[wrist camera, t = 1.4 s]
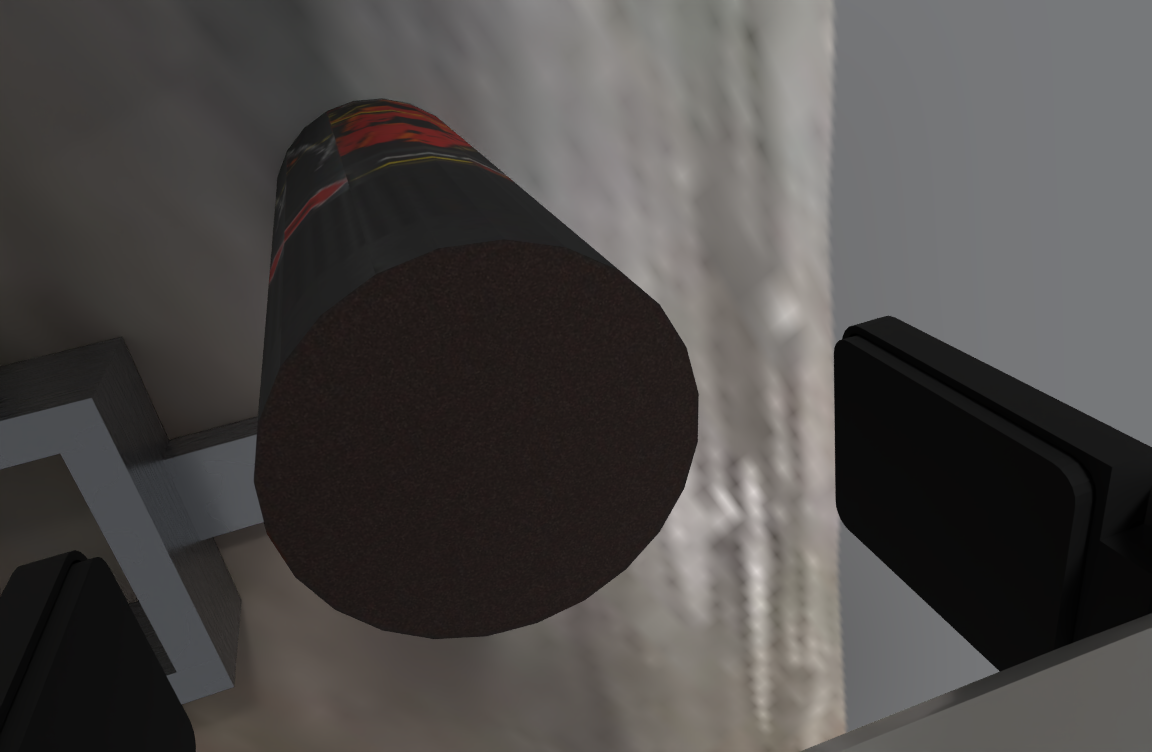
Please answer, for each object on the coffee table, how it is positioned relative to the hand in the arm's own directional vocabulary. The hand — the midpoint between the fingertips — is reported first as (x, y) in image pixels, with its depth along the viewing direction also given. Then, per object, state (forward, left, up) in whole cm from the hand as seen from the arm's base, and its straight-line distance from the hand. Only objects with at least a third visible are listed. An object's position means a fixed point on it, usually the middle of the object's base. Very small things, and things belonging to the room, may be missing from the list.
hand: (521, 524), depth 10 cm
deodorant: (-1, 0, -16) cm, 16 cm away
